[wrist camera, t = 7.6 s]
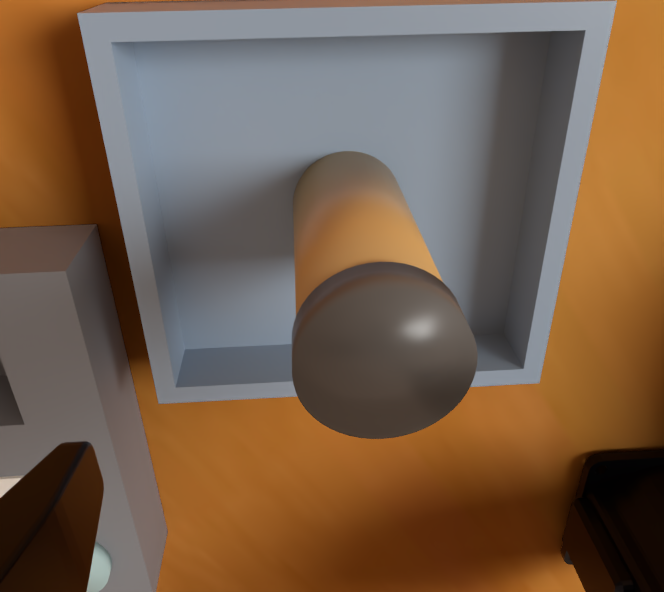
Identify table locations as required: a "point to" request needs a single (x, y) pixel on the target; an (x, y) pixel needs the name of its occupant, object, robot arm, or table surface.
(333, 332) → the cylinder
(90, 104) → the table surface
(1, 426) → the panel
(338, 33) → the parts tray
